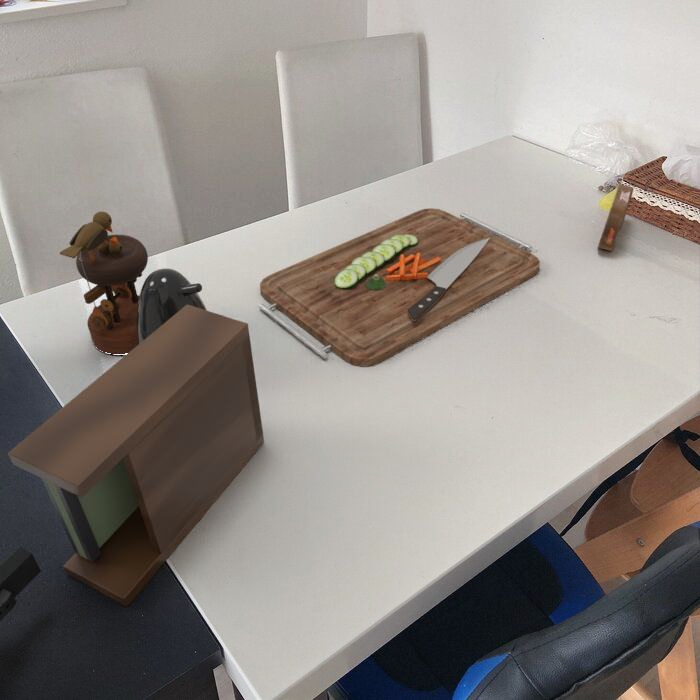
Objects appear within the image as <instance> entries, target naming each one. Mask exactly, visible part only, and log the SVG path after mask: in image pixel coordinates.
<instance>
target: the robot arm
mask: <svg viewBox="0 0 700 700" xmlns="http://www.w3.org/2000/svg"><path fill="white" fill-rule="evenodd" d="M41 572H42V570H41V568H40V566H39V564H38V562H37V560H36V559H35V557H34V555H33V553H32V552H29V551H28V550H26V549H24V548H22V547H21V546H20V547H18V548H17V549H16V551H14V553H12V554H11V555H10V556H9V557H8V558H6V560H5V561H4V562H3V563H2V564H1V565H0V622H1V621H2V620H3V619H4V617H7V615H8V613H10V612H11V611H12V610H13V609H14V608H15V606H16V603H17V599H16V598H17V596H19V595H20V593H21V592H23V590H24V589H25V588H26V587H27V586H28V585H29V584H30V583H31V582H32V581H33V580H35V578H36V577H38V575H39V574H40V573H41Z"/></svg>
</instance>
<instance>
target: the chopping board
mask: <svg viewBox="0 0 700 700" xmlns="http://www.w3.org/2000/svg"><path fill="white" fill-rule="evenodd" d="M490 232H491V233H490ZM496 235H497V236H496ZM506 240H507V241H506ZM532 248H533V246H532V245H531V244H529V243H526V242H524V241H523V240H522V241H521V240H520V239H518V238H516V237H514V236H511V235H509V234H507V233H505V232H503V231H501V230H499V229H497V228H495V227H493V226H491V225H489V224H486V223H484V222H483V221H480V220H478V219H476V218H475V217H472V216H470V215H468V214H466V213H465V212H464V213H463V212H461V213H459V217H458V216H456V215H454V214H452V213H450V212H447V211H445V210H443V209H440V208H433V207H432V208H430V207H429V208H422V209H419V210H416V211H414V212H412V213H410V214H408V215H406V216H403V217H401V218H398V219H396V220H394V221H391V222H389V223H387V224H385V225H382V226H380V227H378V228H375V229H372V230H370V231H368V232H366V233H363V234H361V235H359V236H357V237H354V238H352V239H350V240H347V241H344V242H343V243H340V244H338V245H336V246H333V247H331V248H328V249H327V250H324V251H322V252H320V253H317V254H315V255H313V256H310V257H308V258H306V259H304V260H301V261H299V262H297V263H294V264H292V265H290V266H289V265H288V266H287V267H285V268H283V269H281V270H278V271H276V272H273V273H271V274H269V275H267V276H265V277H263V279H262V280H261V281H260V283H259V290H260V296H261V297H262V298H263V299H264V300H265V301H267V302H268V303H269V304H270V305H268V306H267V305H265V304H264V303H259V306H258V308H259V309H261V310H262V312H264V313H266V314H267V315H268V316H269V317H270V318H272V319H273V320H275V322H277V323H278V324H280V325H281V326H282V327H283V328H284V329H286V330H287V331H288V332H289V333H291V334H292V335H294V337H296V338H297V339H298V340H300V341H301V342H302V343H304V344H305V345H306V346H307V347H308V348H310V349H311V350H313V352H315V353H316V354H317V355H319V356H320V357H321V358H322V359H323V360H324V359H325V360H326V359H327V358H328V357H329V354H328V352H327V351H329V350H330V351H331V352H333V353H334V354H335V355H336V356H338V357H339V358H341V359H342V360H343V361H345V362H346V363H349V364H350V365H352V366H356V367H362V368H363V367H372V366H374V365H377V364H380V363H382V362H383V361H385V360H387V359H389V358H391V357H393V356H395V355H396V354H398V353H400V352H402V351H403V350H405V349H407V348H409V347H411V346H412V345H414V344H416V343H418V342H420V341H421V340H423V339H425V338H426V337H428V336H430V335H432V334H434V333H436V332H437V331H439V330H441V329H443V328H444V327H447V326H448V325H450V324H451V323H453V322H456V321H457V320H458V319H460V318H462V317H464V316H465V315H467V314H470V313H471V312H473V311H474V310H476V309H478V308H481V306H484V305H486V304H487V303H489V302H491V301H492V300H494V299H496V298H497V297H500V296H501V295H503V294H504V293H507V292H509V291H511V290H513V289H514V288H515V287H517V286H520V285H521V284H523V283H524V282H526V281H528V280H530V279H532V278H533V277H535V276H536V275H537V274H538V273H539V270H540V264H541V260H540V259H539V258H538V256H536V255H535V254H533V253H532V252H529V251H531V250H532ZM527 250H528V251H527ZM275 308H276V310H278V311H279V312H281V313H282V314H284V315H285V316H286V317H287V318H288V319H290V320H291V321H292V322H293V323H295V324H296V325H298V326H299V327H300V328H301V329H303V330H304V331H306V332H307V333H308V334H310V335H311V336H312V337H313V338H314V339H316V340H317V341H318V342H320V343H321V344H322V345H324V347H322V348H321V347H320V346H318V345H317V344H315V343H314V342H313V341H312V340H310V339H309V338H308V337H307V336H305V335H304V334H303V333H301V331H299V330H297V329H296V328H295V327H293V326H292V324H290V323H289V322H287V321H286V320H285V319H283V318H282V317H281V316H279V314H277V313H276V312H274V311H273V310H272V309H275Z"/></svg>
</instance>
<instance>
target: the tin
mask: <svg viewBox="0 0 700 700" xmlns="http://www.w3.org/2000/svg"><path fill="white" fill-rule="evenodd" d="M633 193H634V187H633V186H629V185H625V184H621V182H620V183H618V186H617V188H616V191H615V195H614V198H613V199H612V203H611V206H610V209H609V213H608V215H607V218H606V222H605V224H604V227H603V230H602V234H601V236H600V239H599V242H598V245H597V249H602V250H605V251H614V250H615V247H616V243H617V240H618V237H619V234H620V230H621V228H622V226H623V224H624V222H625V219H626V216H627V213H628V209H629V207H630V204H631V200H632V196H633Z"/></svg>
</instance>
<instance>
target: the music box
mask: <svg viewBox="0 0 700 700" xmlns="http://www.w3.org/2000/svg"><path fill="white" fill-rule="evenodd" d="M112 224H113V220H112V216H111V215H110V214H109V213H108V212H107V211H97V212H96V213H95V214H93V217H92V221H89V222H87V223H85V224H83V225H82V226H81V227H80V228H79V229H78V230H77V231H76V232H75V234H74V235H73V236H72V238H71V239H70V241H69V246H67V247H66V248H65V249H63V250H60V252H59V255H61V256H64V257H69V258H71V259H75V258H76V260H75V265H76V269H77V271H78V273H79V275H80V276H81V277H82V278H83V279H84V280H85V281H86V283H87V286H88V288H89V290H88V291H87V292H86V293H84V294H83V298H84V301H85V304H87V305H90V304H93V306H94V307H93V308H92V309H93V310H92V312H90V314H89V316H88V317H87V328H88V331H89V335H90V338H91V340H92V344H93V343H94V344H93V346H94V345H95V346H96V347H97V348H98V349H99V350H101V351H103V352H107V353H111V354H125V353H129V352H130V351H131V350H133V349H134V348H135V347H136V346H137V345H138V341H137V328H136V319H137V307H138V301H139V296H140V294H138V292H137V289H136V285H135V284H136V282H137V281H138V278H141V277H142V276H143V273H144V271H145V270H146V267H147V266H148V260H149V255H148V252H147V248H146V247H145V245H144V244H143V243H142V242H141V241H140V240H138V239H137V238H136V237H133V236H131V235H126V234H109V232H110V233H113V229H112ZM90 284H93V285H95V286H94V287H93V288H91V286H90ZM104 295H105V298H104V299H103V298H102V299H101V300H100V303H99V305H98V306H97V305H96V303H95V301H96V300H98V299H100V298H101V297H102V296H104ZM95 346H94V347H95ZM96 347H95V348H96ZM97 348H96V349H97ZM98 349H97V350H98ZM99 350H98V351H99ZM101 351H100V352H101ZM103 352H102V353H103Z"/></svg>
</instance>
